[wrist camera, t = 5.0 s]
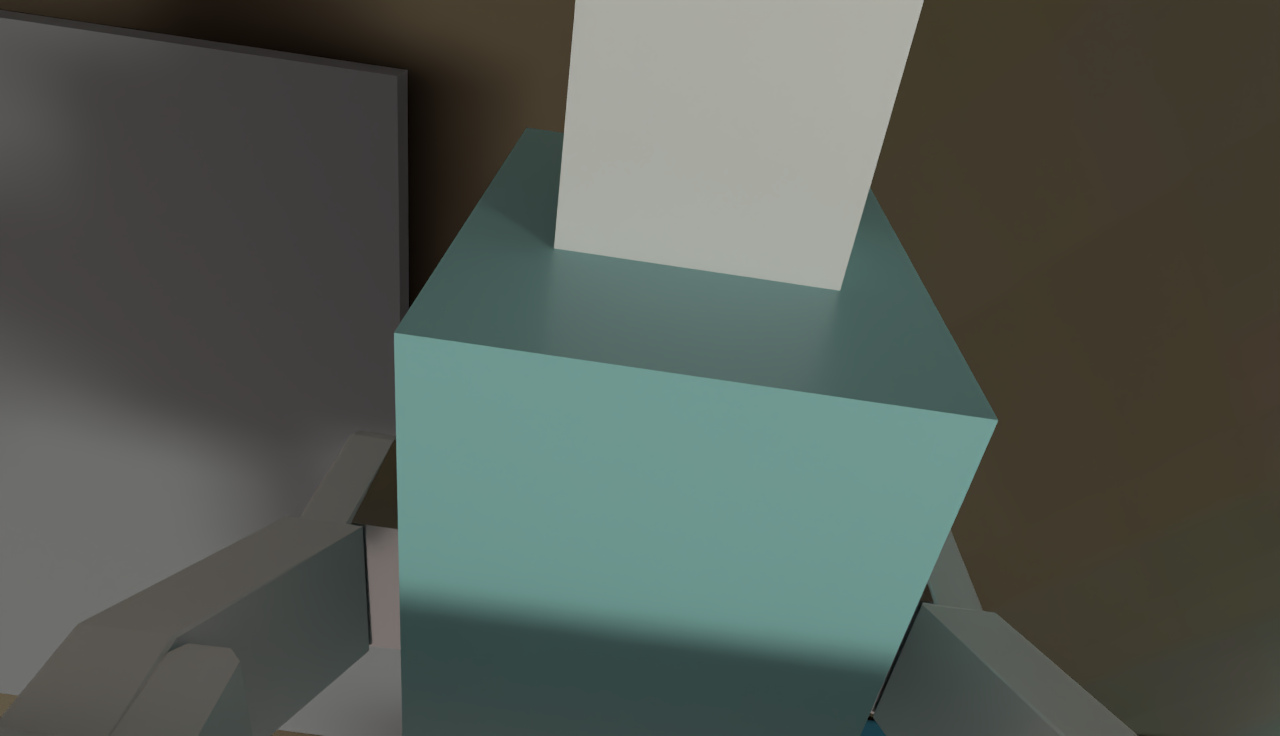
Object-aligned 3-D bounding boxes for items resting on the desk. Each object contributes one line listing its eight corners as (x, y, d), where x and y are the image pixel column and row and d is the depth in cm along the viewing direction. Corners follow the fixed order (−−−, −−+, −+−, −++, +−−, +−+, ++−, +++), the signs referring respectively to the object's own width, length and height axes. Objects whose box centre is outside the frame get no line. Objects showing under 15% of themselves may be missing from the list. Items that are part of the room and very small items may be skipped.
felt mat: (-278, -32, 15) (-314, -29, 14) (407, 69, 15) (397, 76, 14) (-14, 671, 23) (-31, 688, 23) (411, 727, 24) (404, 746, 23)
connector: (541, -109, 8) (385, -85, 4) (928, -47, 9) (1165, 36, 4) (486, 754, 16) (410, 1080, 12) (693, 781, 16) (693, 1116, 12)
